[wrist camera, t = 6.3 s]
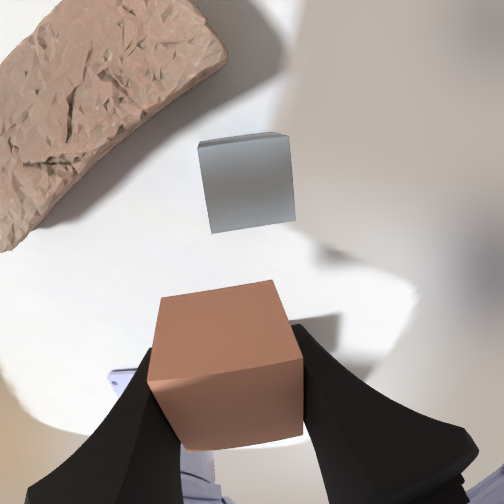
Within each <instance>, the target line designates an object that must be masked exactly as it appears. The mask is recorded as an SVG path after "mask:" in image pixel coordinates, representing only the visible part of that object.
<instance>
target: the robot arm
mask: <svg viewBox="0 0 504 504" xmlns="http://www.w3.org/2000/svg"><path fill="white" fill-rule="evenodd" d="M291 328H292V331H293V333H294V336H295V338H296V341H297V343H298V346H299V348H300V351H301V354H302V356H303V421H304V423H305V426H306V428H307V431H308V433H309V436H310V438H311V441H312V443H313V446H314V449H315V452H316V456H317V459H318V463H319V466H320V469H321V474H322V477H323V481H324V485H325V489H326V492H327V496H328V500H329V504H504V464H503V465H502V466H501V467H500V468H499V469H498V470H496V471H495V472H494V473H492V474H491V475H490V476H488V477H487V478H485V479H484V480H483V481H481V482H480V483H478V484H477V485H475V486H474V487H473V488H471V489H469V490H468V491H466V492H465V490H464V488H463V487H462V484H463V483H464V481H465V480H464V478H463V476H462V475H461V473H462V472H463V471H464V470H465V469H466V468H467V467H468V466H469V465H470V464H471V462H473V461H474V459H475V458H476V457H477V455H478V453H479V449H478V447H477V446H476V444H475V443H474V441H473V439H472V438H471V436H470V435H469V434H468V433H467V432H466V430H465V429H464V428H462V427H459V426H455V425H452V424H448V423H445V422H441V421H438V420H435V419H432V418H430V417H427V416H425V415H422V414H420V413H417V412H415V411H413V410H411V409H409V408H407V407H405V406H403V405H401V404H399V403H397V402H395V401H393V400H391V399H389V398H388V397H386V396H384V395H383V394H381V393H379V392H378V391H376V390H375V389H373V388H372V387H370V386H369V385H367V384H366V383H364V382H363V381H362V380H360V379H359V378H357V377H356V376H355V375H354V374H352V373H351V372H350V371H349V370H347V369H346V368H345V367H344V366H343V365H341V364H340V363H339V362H338V361H337V360H336V359H335V358H334V357H332V356H331V355H330V354H329V353H328V352H327V351H326V350H325V349H324V348H323V347H322V346H321V345H320V344H319V343H318V342H317V341H316V340H315V339H314V338H313V337H312V336H311V335H310V334H309V332H308V331H307V330H306V329H305V328H304V327H303V326H302V325H301V324H296V325H291ZM151 351H152V348H149V350H148V351H147V353H146V354H145V356H144V358H143V360H142V361H141V363H140V365H139V367H138V368H137V370H134V371H121V372H109V373H108V375H107V379H108V381H109V383H110V384H111V386H112V388H113V389H114V391H115V392H116V394H117V396H118V397H119V399H118V401H117V402H116V403H115V405H114V406H113V408H112V409H111V411H110V412H109V414H108V415H107V416H106V418H105V419H104V420H103V422H102V423H101V424H100V425H99V427H98V428H97V429H96V430H95V431H94V433H93V434H92V435H91V436H90V437H89V438H88V439H87V440H86V441H85V443H84V444H82V445H81V447H80V448H79V449H78V450H77V451H76V452H75V453H74V454H73V455H71V456H70V457H69V458H68V459H67V460H66V461H65V462H64V463H63V464H61V465H60V466H59V467H57V468H56V469H55V470H54V471H52V472H51V473H50V474H48V475H47V476H46V477H44V478H43V479H41V480H40V481H38V482H37V483H35V484H34V485H32V486H30V487H29V488H28V490H27V494H26V499H25V503H24V504H235V503H234V502H233V500H232V499H230V498H229V497H226V496H222V495H221V487H220V485H219V484H214V483H215V470H214V458H213V450H211V451H201V452H187V451H186V449H185V448H184V446H183V444H182V443H181V441H180V440H179V438H178V436H177V435H176V433H175V431H174V430H173V428H172V426H171V425H170V423H169V421H168V420H167V418H166V416H165V414H164V412H163V411H162V409H161V407H160V405H159V404H158V402H157V400H156V398H155V396H154V394H153V392H152V390H151V389H150V387H149V385H148V383H147V377H148V370H149V364H150V358H151ZM115 381H116V382H115Z"/></svg>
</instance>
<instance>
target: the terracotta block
mask: <svg viewBox="0 0 504 504" xmlns="http://www.w3.org/2000/svg"><path fill="white" fill-rule="evenodd" d="M147 383H148V385H149V387H150V389H151V390H152V392H153V394H154V396H155V398H156V400H157V402H158V404H159V405H160V407H161V409H162V411H163V412H164V414H165V416H166V418H167V420H168V421H169V423H170V425H171V426H172V428H173V430H174V431H175V433H176V435H177V436H178V438H179V440H180V441H181V443H182V444H183V446H184V448H185V449H186V451H187V452H201V451H211V450H220V449H228V448H236V447H243V446H249V445H255V444H261V443H267V442H272V441H277V440H282V439H287V438H291V437H296V436H300V435H303V356H302V354H301V351H300V348H299V346H298V343H297V341H296V338H295V336H294V333H293V331H292V328H291V326H290V323H289V320H288V318H287V315H286V313H285V310H284V308H283V305H282V303H281V300H280V298H279V295H278V293H277V290H276V288H275V285H274V283H273V280H267V281H262V282H256V283H250V284H244V285H238V286H233V287H227V288H220V289H214V290H208V291H202V292H196V293H189V294H183V295H176V296H170V297H163V298H161V302H160V307H159V312H158V318H157V323H156V328H155V334H154V340H153V345H152V351H151V358H150V364H149V370H148V377H147Z"/></svg>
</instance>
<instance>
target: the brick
mask: <svg viewBox="0 0 504 504" xmlns="http://www.w3.org/2000/svg"><path fill="white" fill-rule="evenodd" d="M227 61H228V53H227V50H226V48H225V46H224V44H223V43H222V42H221V40H220V39H219V37H218V36H217V34H216V33H215V32H214V31H213V30H212V28H211V27H210V26H208V24H207V19H206V17H205V16H204V15H203V14H202V12H201V11H200V10H199V9H198V7H197V6H196V5H195V4H194V3H193V1H192V0H62V1H61V2H60V3H59V4H58V5H57V6H56V7H55V8H54V9H53V10H52V12H51V13H50V14H49V15H47V16H46V17H45V18H44V19H43V20H42V21H41V22H40V23H39V24H38V26H37V28H36V29H35V31H34V32H33V34H31V35H30V36H28V37H27V38H25V39H24V40H23V41H22V42H21V43H20V44H19V45H18V46H17V47H16V48H15V49H14V50H13V51H12V52H11V53H10V54H9V55H8V56H7V57H6V58H5V60H4V61H3V62H2V63H1V64H0V252H1V253H3V252H6V251H12V250H13V249H14V248H15V247H16V246H17V245H18V244H19V242H22V241H23V240H24V239H25V238H26V237H27V235H28V234H29V233H30V231H32V230H33V229H35V228H36V226H37V225H38V224H39V223H41V222H42V221H43V220H44V218H45V217H46V216H47V214H48V213H49V212H50V211H51V210H52V208H53V207H54V206H55V205H56V203H57V202H58V201H59V200H60V199H61V198H62V197H63V196H64V195H65V194H66V192H67V191H69V190H70V189H71V188H72V187H73V186H74V185H75V184H76V183H77V182H79V181H80V180H81V179H82V178H83V177H84V175H85V174H86V173H87V171H88V170H89V169H90V168H91V167H92V166H93V165H94V164H95V163H96V162H97V161H99V160H100V159H102V158H103V157H105V156H106V155H107V154H108V153H109V152H110V151H111V150H112V149H113V148H114V147H115V146H117V145H118V144H119V143H120V142H122V141H123V140H124V139H125V138H127V137H128V136H129V135H130V134H131V133H132V132H133V131H135V130H136V129H137V128H138V127H140V126H141V125H143V124H144V123H145V122H147V121H148V120H149V119H150V118H151V117H152V116H153V115H155V114H156V113H157V112H159V111H160V110H162V109H163V108H164V107H165V106H167V105H169V104H170V103H171V102H173V101H174V100H175V99H177V98H178V97H180V96H181V95H183V94H184V93H186V92H187V91H188V90H190V89H191V88H192V87H194V86H195V85H197V84H198V83H200V82H202V81H203V80H205V79H206V78H208V77H210V76H211V75H213V74H214V73H216V72H217V71H219V70H220V69H221V68H222V67H223V66H224V65H225V63H226V62H227Z"/></svg>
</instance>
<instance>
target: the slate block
mask: <svg viewBox="0 0 504 504" xmlns="http://www.w3.org/2000/svg"><path fill="white" fill-rule="evenodd" d="M197 149H198V156H199V162H200V169H201V175H202V181H203V187H204V193H205V199H206V205H207V211H208V217H209V223H210V228H211V234H215V233H221V232H227V231H233V230H239V229H245V228H251V227H258V226H264V225H271V224H277V223H283V222H290V221H295V220H296V218H295V203H294V190H293V177H292V165H291V154H290V144H289V136H286V135H281V134H277V133H273V132H268V133H259V134H250V135H242V136H235V137H227V138H220V139H214V140H208V141H201V142H199V145H198V148H197Z"/></svg>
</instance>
